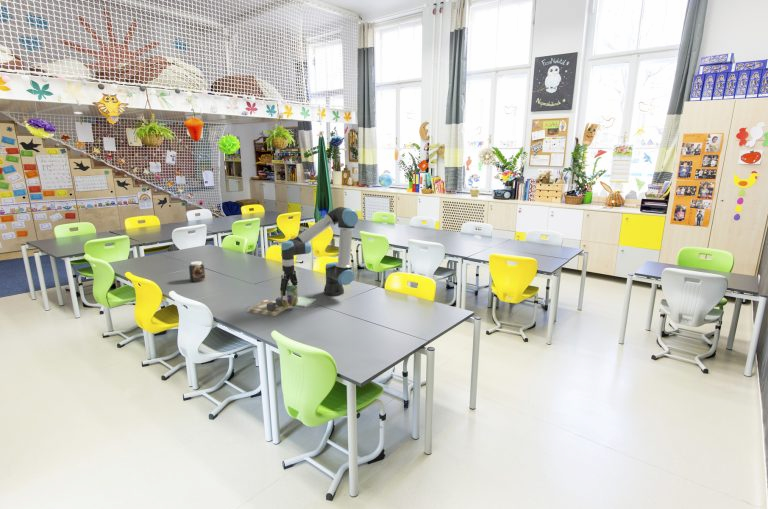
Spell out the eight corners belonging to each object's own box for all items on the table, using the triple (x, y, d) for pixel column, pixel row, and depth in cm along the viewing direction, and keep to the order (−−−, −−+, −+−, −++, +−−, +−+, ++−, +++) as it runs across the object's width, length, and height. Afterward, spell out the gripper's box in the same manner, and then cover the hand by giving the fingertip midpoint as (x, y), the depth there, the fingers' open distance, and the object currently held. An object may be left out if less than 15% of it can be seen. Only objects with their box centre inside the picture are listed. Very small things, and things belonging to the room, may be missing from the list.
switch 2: (284, 303, 274) (284, 297, 273) (281, 305, 271) (280, 299, 270) (279, 302, 276) (278, 297, 275) (275, 304, 272) (275, 299, 271)
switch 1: (275, 308, 265) (275, 302, 264) (272, 310, 261) (272, 304, 260) (270, 307, 266) (270, 302, 265) (267, 310, 263) (266, 304, 262)
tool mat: (316, 300, 289) (316, 298, 288) (305, 307, 275) (305, 305, 275) (297, 297, 293) (297, 296, 293) (286, 304, 279) (286, 303, 279)
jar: (186, 281, 328) (184, 263, 325) (197, 277, 339) (195, 260, 335) (198, 283, 324) (196, 264, 321) (208, 279, 335) (207, 261, 332)
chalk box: (295, 306, 266) (294, 285, 262) (281, 306, 266) (279, 285, 263) (298, 302, 275) (297, 281, 271) (284, 301, 275) (283, 280, 272)
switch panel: (290, 306, 277) (290, 303, 276) (274, 316, 259) (274, 313, 259) (265, 302, 283) (265, 299, 282) (248, 312, 265) (248, 309, 265)
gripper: (292, 260, 276) (293, 291, 281) (273, 268, 255) (275, 302, 260) (302, 261, 274) (303, 292, 279) (283, 269, 253) (285, 303, 258)
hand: (289, 297), depth 269 cm, fingers closed on chalk box, 10 cm apart
